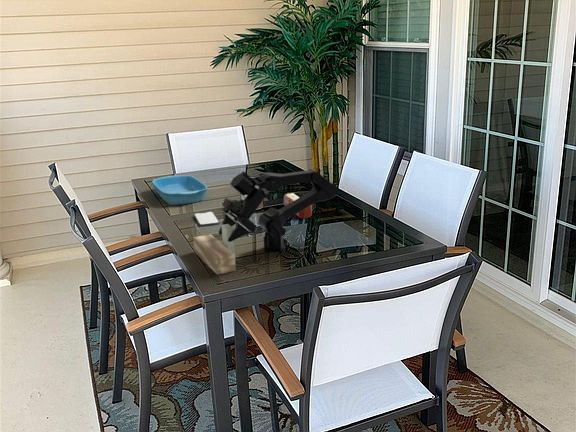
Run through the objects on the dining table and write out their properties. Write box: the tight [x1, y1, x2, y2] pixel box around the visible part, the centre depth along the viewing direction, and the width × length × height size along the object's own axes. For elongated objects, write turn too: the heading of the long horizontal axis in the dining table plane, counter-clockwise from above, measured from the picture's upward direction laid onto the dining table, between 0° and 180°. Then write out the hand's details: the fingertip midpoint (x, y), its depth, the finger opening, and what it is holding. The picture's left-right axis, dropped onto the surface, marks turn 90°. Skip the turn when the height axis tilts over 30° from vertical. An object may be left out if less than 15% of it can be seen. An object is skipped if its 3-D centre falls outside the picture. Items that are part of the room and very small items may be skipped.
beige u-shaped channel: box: [192, 233, 237, 275], centre depth 204 cm, size 7×24×6 cm, turn 27°
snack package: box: [283, 192, 313, 219], centre depth 258 cm, size 21×7×7 cm, turn 19°
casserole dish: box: [151, 174, 208, 206], centre depth 285 cm, size 37×22×7 cm, turn 26°
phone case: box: [193, 211, 220, 228], centre depth 249 cm, size 9×2×16 cm
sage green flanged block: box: [221, 224, 236, 255], centre depth 204 cm, size 8×6×12 cm
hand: (224, 237), depth 204 cm, fingers open, 9 cm apart
